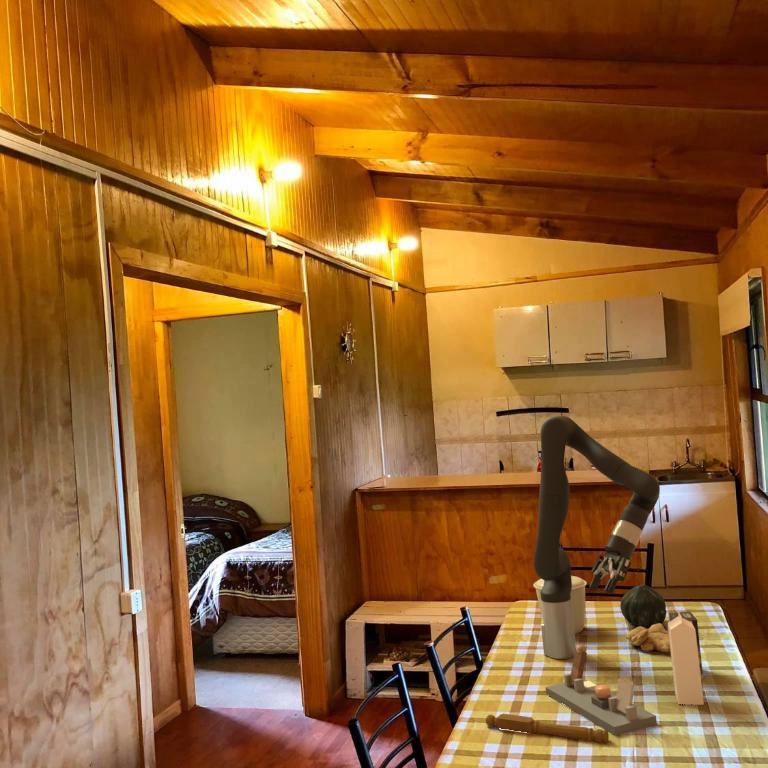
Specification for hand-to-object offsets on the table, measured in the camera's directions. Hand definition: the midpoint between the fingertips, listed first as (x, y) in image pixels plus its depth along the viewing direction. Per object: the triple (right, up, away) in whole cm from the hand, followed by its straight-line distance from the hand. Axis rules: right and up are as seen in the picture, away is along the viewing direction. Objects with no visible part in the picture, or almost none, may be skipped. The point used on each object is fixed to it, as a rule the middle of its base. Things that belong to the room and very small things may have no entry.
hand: (599, 591), depth 205 cm
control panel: (-6, -25, -17) cm, 31 cm away
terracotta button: (-5, -21, -20) cm, 29 cm away
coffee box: (+25, -23, 0) cm, 34 cm away
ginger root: (+23, -25, +24) cm, 41 cm away
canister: (+2, -28, +48) cm, 56 cm away
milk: (+18, -23, -18) cm, 34 cm away
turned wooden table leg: (-22, -27, -29) cm, 45 cm away
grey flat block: (-2, -22, -27) cm, 35 cm away
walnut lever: (-9, -23, -8) cm, 26 cm away
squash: (+30, -25, +47) cm, 61 cm away
